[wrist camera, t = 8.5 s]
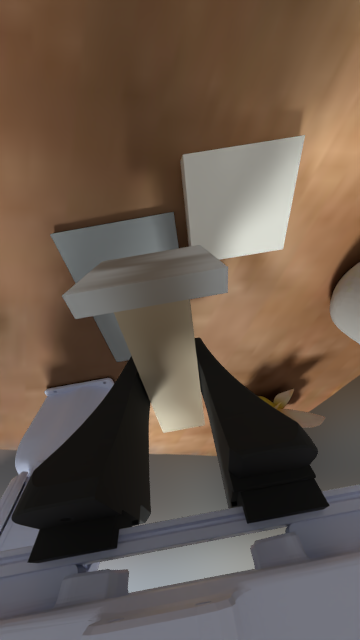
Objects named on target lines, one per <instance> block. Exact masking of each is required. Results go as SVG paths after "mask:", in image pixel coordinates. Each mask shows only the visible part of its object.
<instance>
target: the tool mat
mask: <svg viewBox="0 0 360 640" xmlns="http://www.w3.org/2000/svg"><path fill="white" fill-rule="evenodd" d="M50 235H51V237H52V239H53V241H54V243H55V245H56V246H57V248H58V250H59V252H60V254H61V256H62V258H63V260H64V262H65V264H66V266H67V268H68V269H69V271H70V273H71V275H72V277H73V279H74V281H75V283H77V282H78V281H80V280H81V279H82V278H83V277H84V276H85V275H87V274H88V273H89V272H90V271H91V270H93V269H94V268H95V267H96V266H97V265H98V264H100V263H101V262H102V261H108V260H113V259H119V258H125V257H131V256H137V255H143V254H149V253H155V252H160V251H166V250H172V249H178V248H179V247H178V240H177V233H176V226H175V219H174V212H170V213H164V214H159V215H153V216H147V217H142V218H136V219H131V220H125V221H120V222H114V223H108V224H103V225H97V226H92V227H86V228H81V229H75V230H69V231H64V232H58V233H53V234H50ZM93 317H94V319H95V321H96V323H97V325H98V327H99V329H100V331H101V333H102V335H103V337H104V339H105V341H106V342H107V344H108V346H109V348H110V350H111V352H112V354H113V356H114V358H115V360H116V362H120V361H126V360H129V359H130V357H131V353H130V351H129V349H128V346H127V344H126V341H125V339H124V336H123V334H122V332H121V329H120V327H119V324H118V322H117V319H116V317H115V315H114V312H113V313H108V314H102V315H96V316H93Z"/></svg>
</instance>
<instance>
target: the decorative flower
mask: <svg viewBox="0 0 360 640" xmlns="http://www.w3.org/2000/svg"><path fill="white" fill-rule="evenodd" d="M293 392H294V389H291V390H288V391H286V392H283V393H280V394H278V395H277V396H276V397H275V399H274V401H273V402H271V401H270V400H268V399H267V398H265V397H262V396H258V397H259V398H261V399H262V400H264V401H265V402H266V403H268V404H269V405H271V406H272V407H274V408H275V409H277V410H279V411H280V412H282V413H283V414H285V415H287V416H288V417H290V418H291V419H293V420H295V421H296V422H298V423H299V425H300V426H301V427H315V426H318V425H321V424H322V422H323V421H324V419H325V417H324V416H319V415H316V414H312V413H309V412H303V411H297V410H291V409H283V408H284V407H285V406H286V404H287V403H288V401H289V400H290V398H291V396H292V394H293Z"/></svg>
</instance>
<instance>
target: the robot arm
mask: <svg viewBox="0 0 360 640" xmlns="http://www.w3.org/2000/svg"><path fill="white" fill-rule="evenodd" d="M195 347H196V355H197V363H198V372H199V380H200V388H201V392H202V395H203V399H204V402H205V405H206V408H207V412H208V416H209V420H210V425H211V429H212V434H213V438H214V443H215V447H216V452H217V457H218V461H219V466H220V470H221V475H222V480H223V484H224V489H225V494H226V499H227V503H228V508H229V509H225V510H220V511H214V512H209V513H204V514H198V515H193V516H187V517H182V518H177V519H171V520H166V521H161V522H155V523H150V524H145V525H140V526H135V527H132V526H134V525H139V524H142V523H145V522H146V521H147V519H148V518H149V516H150V514H151V506H150V483H149V411H150V399H149V397H148V395H147V392H146V390H145V387H144V385H143V382H142V380H141V378H140V375H139V373H138V370H137V368H136V365H135V363H134V361H133V358H132V356H131V357H130V359H129V361H128V363H127V364H126V366H125V368H124V369H123V371H122V373H121V374H120V376H119V378H118V379H117V381H116V382H115V384H114V382H113V380H112V379H111V378H104V379H99V380H93V381H88V382H82V383H77V384H71V385H66V386H60V387H55V388H49V389H46V390H45V394H46V395H47V398H46V400H45V401H44V403H43V405H42V406H41V408H40V410H39V411H38V413H37V415H36V416H35V418H34V420H33V421H32V423H31V425H30V426H29V428H28V430H27V431H26V433H25V435H24V436H23V438H22V440H21V442H20V444H19V447H18V450H17V454H16V459H15V466H16V470H17V472H18V474H19V475H17V476H16V477H14V478H13V479H12V480H11V481H10V484H9V485H8V487H7V489H6V490H5V492H4V494H3V496H2V498H1V499H0V640H360V484H359V485H353V486H347V487H342V488H337V489H331V490H326V491H321V490H320V488H319V486H318V485H317V483H316V481H315V479H314V478H315V477H316V476H315V473H314V472H313V470H312V468H311V466H310V464H311V462H312V461H313V460H314V459H315V458H316V456H317V454H318V450H317V447H316V446H315V444H314V443H313V441H312V440H311V438H310V437H309V436H308V435H307V433H306V432H305V431H304V430H303V428H302V427H301V426H300V425H299V423H298V422H296V421H295V420H293V419H291V418H290V417H288V416H287V415H285V414H283V413H282V412H280V411H279V410H277V409H275V408H274V407H272V406H271V405H269V404H268V403H266V402H265V401H264V400H262V399H261V398H259V397H258V396H257V395H255V394H254V393H253V392H251V391H250V390H249V389H247V388H246V387H245V386H244V385H242V384H241V383H240V382H239V381H238V380H237V379H235V378H234V377H233V376H232V375H231V374H230V373H229V372H228V371H227V370H226V369H225V368H224V367H223V366H222V365H221V364H220V363H219V362H218V361H217V360H216V358H215V357H214V356H213V355H212V354H211V352H210V351H209V350H208V349H207V347H206V346H205V344H204V343H203V341H202V340H201V338H195ZM287 526H288V527H287ZM282 527H287V528H286V531H285V532H286V533H285V534H281V535H277V536H273V537H269V538H265V539H261V540H257V541H255V543H254V545H252V546H251V548H250V549H251V553H252V556H253V560H254V565H255V569H252V570H247V571H241V572H236V573H231V574H225V575H220V576H215V577H210V578H204V579H200V580H194V581H189V582H184V583H178V584H173V585H168V586H163V587H158V588H153V589H147V590H143V591H137V592H132V593H128V577H129V571H128V570H109V569H106V570H99V571H97V570H98V567H99V564H100V562H102V561H108V560H113V559H118V558H124V557H129V556H134V555H139V554H144V553H150V552H155V551H161V550H166V549H171V548H176V547H182V546H187V545H192V544H197V543H202V542H208V541H213V540H218V539H224V538H229V537H235V536H240V535H245V534H250V533H256V532H261V531H266V530H272V529H277V528H282Z"/></svg>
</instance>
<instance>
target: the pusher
mask: <svg viewBox="0 0 360 640" xmlns="http://www.w3.org/2000/svg"><path fill="white" fill-rule="evenodd" d="M223 293H228V267H227V266H226V265H225V264H223V263H222V262H221V261H220V260H218V259H217V258H216V257H215V256H213V255H212V254H211V253H210V252H208V251H207V250H206V249H205V248H203V247H202V246H201V245H196V246H190V247H184V248H178V249H172V250H166V251H160V252H155V253H149V254H143V255H137V256H131V257H125V258H119V259H113V260H108V261H102V262H101V263H100V264H98V265H97V266H96V267H95V268H94V269H93V270H91V271H90V272H89V273H88V274H87V275H85V276H84V277H83V278H82V279H81V280H80V281H78V282H77V283H76V284H75V285H74V286H73V287H71V288H70V289H69V290H68V291H67V292H66V293H64V294H63V295H62V297H63V299H64V300H65V302H66V304H67V306H68V307H69V309H70V311H71V313H72V314H73V316H74V318H75V319H79V318H85V317H90V316H96V315H102V314H108V313H113V312H114V315H115V317H116V319H117V322H118V324H119V327H120V329H121V332H122V334H123V336H124V339H125V341H126V344H127V346H128V349H129V351H130V353H131V356H132V358H133V361H134V363H135V365H136V368H137V370H138V373H139V375H140V378H141V380H142V382H143V385H144V387H145V390H146V392H147V395H148V397H149V399H150V402H151V404H152V407H153V409H154V412H155V414H156V416H157V419H158V421H159V424H160V426H161V428H162V431H163V433H165V432H170V431H176V430H181V429H187V428H192V427H198V426H203V425H205V422H204V413H203V405H202V397H201V388H200V380H199V372H198V363H197V355H196V347H195V338H194V330H193V322H192V314H191V305H190V299H194V298H200V297H205V296H211V295H217V294H223Z"/></svg>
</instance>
